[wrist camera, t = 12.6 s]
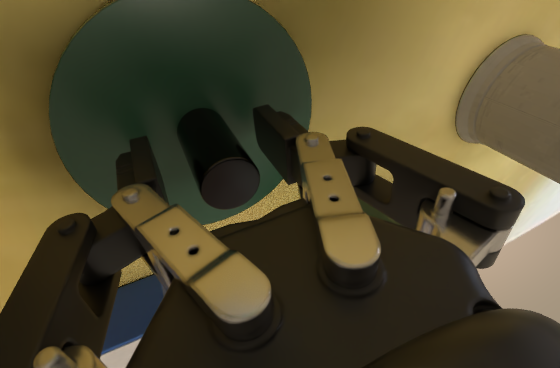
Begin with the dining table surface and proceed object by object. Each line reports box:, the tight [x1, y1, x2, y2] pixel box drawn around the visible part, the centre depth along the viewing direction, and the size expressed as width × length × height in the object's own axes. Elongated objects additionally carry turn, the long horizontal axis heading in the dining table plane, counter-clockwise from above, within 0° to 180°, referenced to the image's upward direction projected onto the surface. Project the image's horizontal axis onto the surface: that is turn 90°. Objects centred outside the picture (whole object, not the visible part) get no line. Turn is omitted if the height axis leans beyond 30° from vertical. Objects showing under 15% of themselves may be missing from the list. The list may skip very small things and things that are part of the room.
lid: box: [49, 0, 312, 225], centre depth 15 cm, size 12×12×6 cm
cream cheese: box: [100, 275, 167, 368], centre depth 21 cm, size 6×4×4 cm
